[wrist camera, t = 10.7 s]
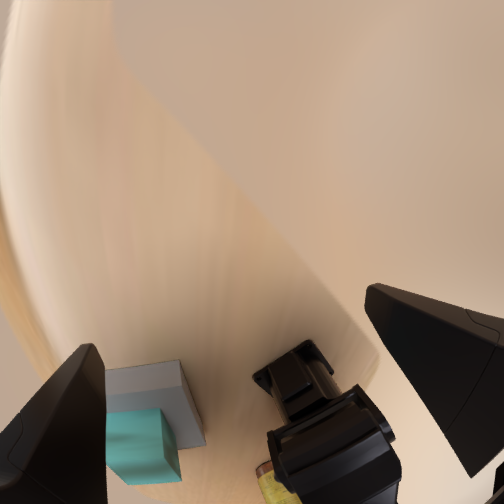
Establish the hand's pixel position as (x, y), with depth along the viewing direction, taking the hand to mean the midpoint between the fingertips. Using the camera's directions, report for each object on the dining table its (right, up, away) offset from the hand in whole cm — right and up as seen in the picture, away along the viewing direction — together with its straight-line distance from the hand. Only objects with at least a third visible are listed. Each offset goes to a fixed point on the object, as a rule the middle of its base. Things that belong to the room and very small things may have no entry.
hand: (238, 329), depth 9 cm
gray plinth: (-10, -12, +16) cm, 22 cm away
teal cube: (-9, -13, +13) cm, 21 cm away
